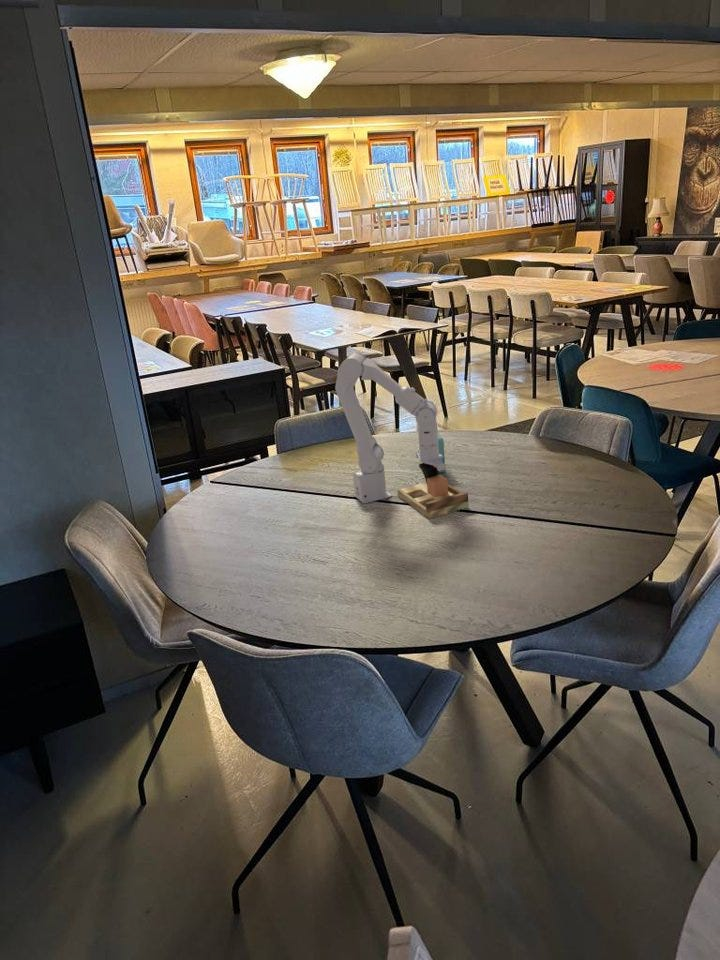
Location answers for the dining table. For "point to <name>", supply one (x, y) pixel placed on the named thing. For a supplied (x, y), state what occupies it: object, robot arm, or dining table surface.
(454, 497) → the trap board
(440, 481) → the block
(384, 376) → the robot arm
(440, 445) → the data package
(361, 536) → the dining table surface
